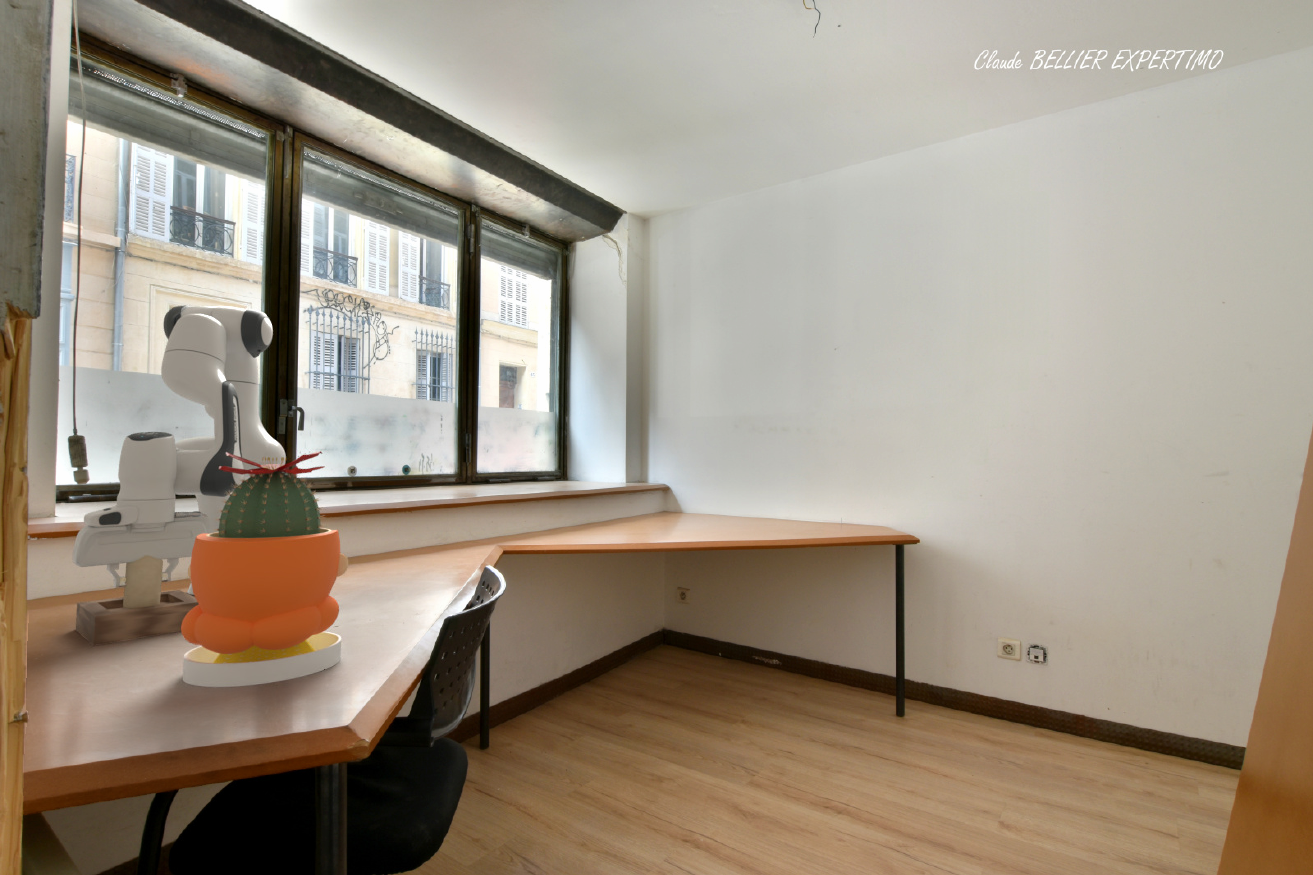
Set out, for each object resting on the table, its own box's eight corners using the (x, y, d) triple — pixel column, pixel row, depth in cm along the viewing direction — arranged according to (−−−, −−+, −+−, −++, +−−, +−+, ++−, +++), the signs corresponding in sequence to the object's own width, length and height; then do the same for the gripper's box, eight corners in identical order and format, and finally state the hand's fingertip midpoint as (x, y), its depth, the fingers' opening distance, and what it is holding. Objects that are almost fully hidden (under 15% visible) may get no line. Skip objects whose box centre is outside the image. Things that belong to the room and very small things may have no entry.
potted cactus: (199, 658, 100) (209, 449, 101) (348, 644, 109) (356, 452, 110) (150, 707, 80) (163, 447, 82) (337, 685, 89) (346, 450, 90)
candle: (161, 606, 117) (165, 554, 118) (124, 610, 113) (128, 557, 114) (157, 601, 121) (161, 551, 121) (121, 605, 117) (125, 554, 117)
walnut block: (178, 615, 128) (179, 589, 128) (202, 629, 118) (204, 601, 119) (75, 631, 115) (77, 602, 116) (93, 648, 106) (95, 616, 106)
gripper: (204, 509, 128) (201, 574, 128) (72, 515, 112) (68, 590, 111) (214, 511, 124) (211, 578, 124) (79, 518, 108) (75, 595, 108)
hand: (142, 584), depth 117 cm, fingers closed on candle, 5 cm apart
